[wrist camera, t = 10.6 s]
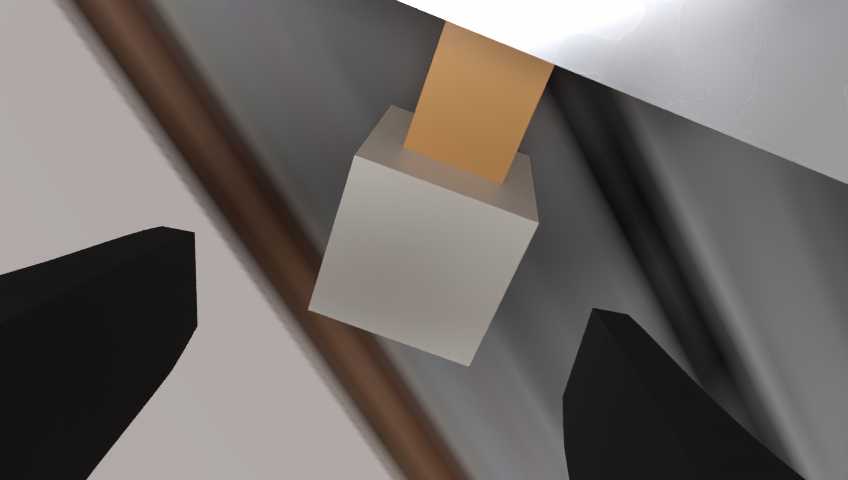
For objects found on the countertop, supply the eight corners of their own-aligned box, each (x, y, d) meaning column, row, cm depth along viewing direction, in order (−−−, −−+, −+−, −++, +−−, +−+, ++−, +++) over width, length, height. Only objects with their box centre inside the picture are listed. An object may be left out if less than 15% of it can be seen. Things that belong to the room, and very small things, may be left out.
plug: (798, -440, 11) (982, -685, 6) (461, 304, 18) (451, 402, 14) (593, -529, 10) (652, -837, 6) (341, 261, 18) (296, 348, 14)
